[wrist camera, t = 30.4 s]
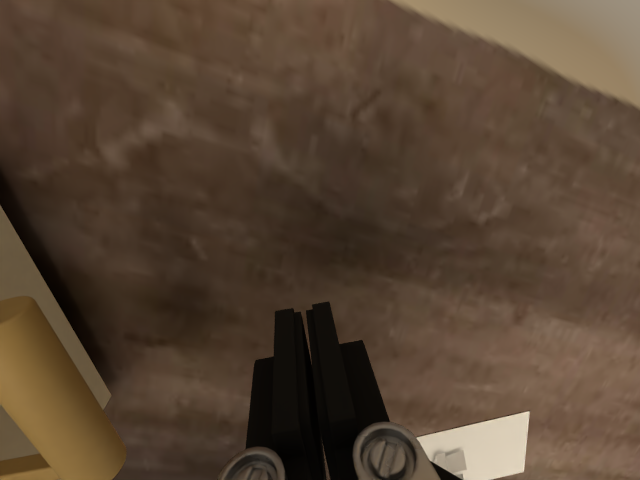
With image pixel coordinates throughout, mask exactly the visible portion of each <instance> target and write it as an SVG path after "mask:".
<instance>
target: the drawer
mask: <svg viewBox="0 0 640 480" xmlns="http://www.w3.org/2000/svg"><path fill="white" fill-rule="evenodd" d="M110 398H111V394H110V392H109V390H108V388H107V387H106V385H105V383H104V382H103V380H102V378H101V376H100V375H99V373H98V371H97V370H96V368H95V366H94V364H93V363H92V361H91V359H90V358H89V356H88V354H87V352H86V351H85V349H84V347H83V346H82V344H81V342H80V341H79V339H78V337H77V335H76V334H75V332H74V330H73V329H72V327H71V325H70V323H69V322H68V320H67V318H66V317H65V315H64V313H63V311H62V310H61V308H60V306H59V305H58V303H57V301H56V299H55V298H54V296H53V294H52V293H51V291H50V289H49V287H48V286H47V284H46V282H45V281H44V279H43V277H42V276H41V274H40V272H39V270H38V269H37V267H36V265H35V264H34V262H33V260H32V258H31V257H30V255H29V253H28V252H27V250H26V248H25V246H24V245H23V243H22V241H21V240H20V238H19V236H18V234H17V233H16V231H15V229H14V228H13V226H12V224H11V222H10V221H9V219H8V217H7V216H6V214H5V212H4V211H3V209H2V207H1V205H0V480H112V479H113V478H114V477H115V476H116V475H117V474H118V472H119V471H120V469H121V468H122V466H123V464H124V462H125V459H126V447H125V445H124V443H123V442H122V440H121V438H120V437H119V435H118V434H117V432H116V430H115V429H114V427H113V425H112V424H111V422H110V421H109V419H108V417H107V416H106V414H105V412H104V411H103V410H104V408H105V406H106V405H107V403H108V401H109V399H110Z"/></svg>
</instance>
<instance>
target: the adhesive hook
mask: <svg viewBox="0 0 640 480" xmlns="http://www.w3.org/2000/svg"><path fill="white" fill-rule="evenodd" d="M433 463H435V464H437V465H438V466H440V467H442V468H443V469H445V470H447V471H448V472H450V473H452V474H454V475H455V476H457V477H459V478H460V479H462V480H469V475H468V467H467V461H466V455H465V450H464V449H462V450H459V451H456V452H454V453H451V454H449V455H446V453H445V452H443V453H438V454H436V455H435V457H434V461H433Z"/></svg>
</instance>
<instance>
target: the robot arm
mask: <svg viewBox="0 0 640 480" xmlns="http://www.w3.org/2000/svg"><path fill="white" fill-rule="evenodd" d="M312 308H313V309H312V310H306V315H307V324H308V333H309V342H310V351H311V359H310V354H309V349H308V344H307V339H306V335H305V330H304V325H303V320H302V315H301V312H295V313H294V309H293V308H291V309H285V310H280V311H276V312H275V333H274V357H269V358H264V359H258V360H256V361H255V364H254V372H253V382H252V391H251V401H250V411H249V421H248V430H247V440H246V449H245V450H243V451H241V452H240V453H238V454H236V455H235V456H234V457H233V458H232V459H230V460H229V461H228V462H227V464H226V465H225V466H224V468H223V469H222V470H221V472H220V474H219V476H218V479H217V480H326V471H325V463H324V454H323V446H324V451H325V455H326V460H327V465H328V469H329V474H330V479H331V480H462V479H460V478H459V477H457V476H455V475H454V474H452V473H450V472H448V471H447V470H445V469H443V468H442V467H440V466H438V465H437V464H435V463H433V462H431V461H430V460H429V458H428V456H427V455H426V453H425V451H424V449H423V448H422V446H421V444H420V442H419V441H418V440H417V438H416V437H415V436H414V434H413V433H412V432H410V431H409V430H408V429H406V428H405V427H404V426H401V425H399V424H396V423H393V422H390V421H389V418H388V415H387V412H386V409H385V406H384V403H383V400H382V397H381V394H380V391H379V388H378V385H377V382H376V379H375V375H374V372H373V369H372V366H371V363H370V360H369V357H368V354H367V351H366V348H365V345H364V343H363V341H362V340H359V341H354V342H349V343H343V344H339V342H338V337H337V333H336V329H335V324H334V320H333V316H332V311H331V307H330V303H329V302H323V303H318V304H313V305H312ZM311 360H312V364H311ZM322 441H323V445H322Z"/></svg>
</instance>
